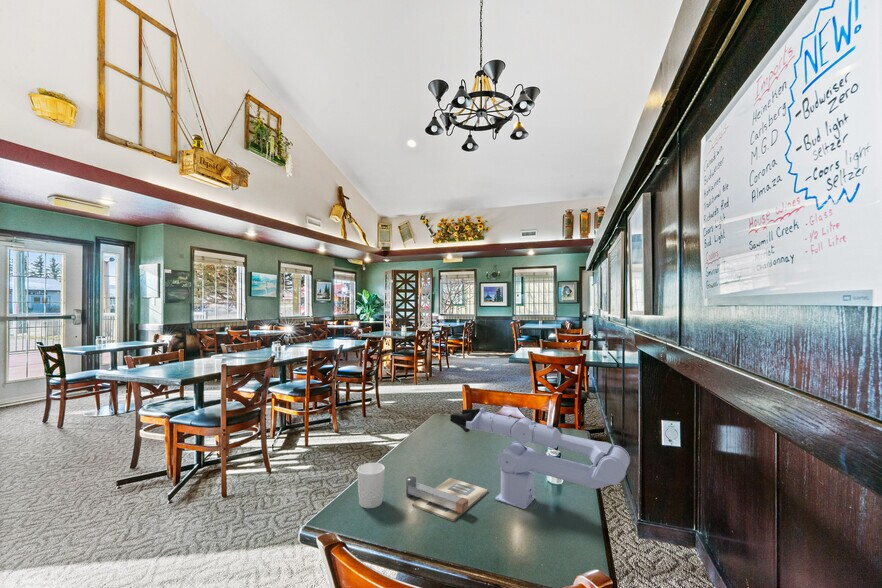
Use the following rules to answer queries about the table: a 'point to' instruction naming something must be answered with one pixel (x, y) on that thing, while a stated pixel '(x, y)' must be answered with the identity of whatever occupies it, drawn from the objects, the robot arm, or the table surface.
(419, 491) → the light grey long piece
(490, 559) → the table surface
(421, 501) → the label board
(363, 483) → the white cup
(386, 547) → the table surface
